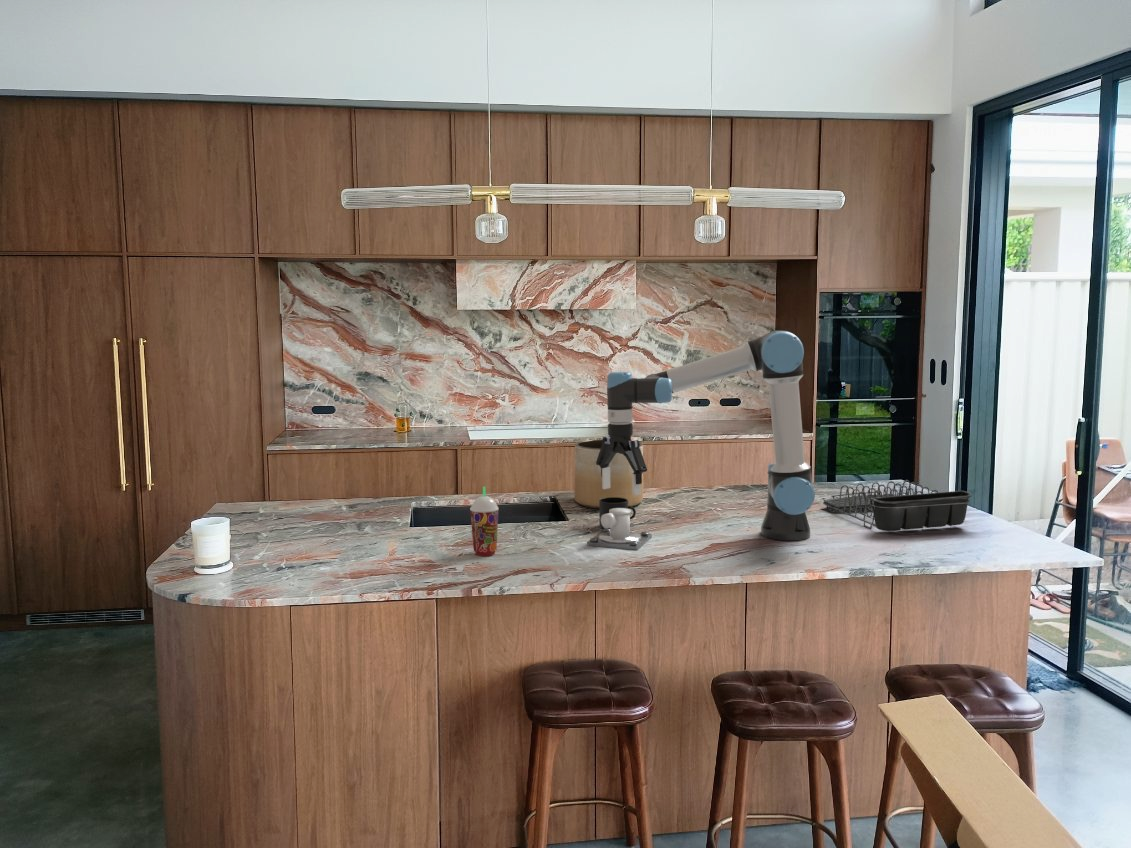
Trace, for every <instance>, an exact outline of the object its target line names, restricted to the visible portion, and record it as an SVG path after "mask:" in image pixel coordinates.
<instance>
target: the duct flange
mask: <svg viewBox="0 0 1131 848" xmlns="http://www.w3.org/2000/svg"><path fill="white" fill-rule="evenodd" d="M652 536H653V534H652V533H649V531H642V532H634V531H630V537H628V538H622V539H619V538H612V537H610V529H608V528H607V529H606V528H605V529H602V530H601V531H599V533H598V532H597V534H596V535H595V536H593V537H590V539H589V540H587V542H586V546H589V547H591V546H592V547H601V548H602V547H603V548H613V549H623V550H634V551H639V550H640V549H641V548H642V547H643V546H644V545H645V544H646V543H647V542H648V541H650V539H651V538H652Z"/></svg>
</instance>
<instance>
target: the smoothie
mask: <svg viewBox="0 0 1131 848" xmlns="http://www.w3.org/2000/svg"><path fill="white" fill-rule="evenodd" d="M499 508H500V507H499V506H498V505H497V503H496V500H494V498H492V497H491V496H488V495H486V486H483V487H482V495H481V496H478V497H477V498H475V500H474V501H473V502H472V504H471V506H470V508H469V510H470V520H471V521H470V523H471V535H472V545H473V546H472V547H473V548H472V549H473V551H474V552H475V555H476V556H478V557H490V556H493V555H494V554H495V553H496V551H497V550H498V549H497V547H498V528H499V527H498V525H499V510H500V509H499Z"/></svg>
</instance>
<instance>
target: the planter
mask: <svg viewBox="0 0 1131 848" xmlns="http://www.w3.org/2000/svg"><path fill="white" fill-rule="evenodd" d="M602 440H603V438H600V439H599V438H598V439H596V438H595V439H587V440H581V441H578V442H576V443H575V444H574V488H573V489H574V493H573V494H574V501H575V502H577V503H578V504H579V505H581V506H582V507H586V508H591V509H598V510H599V500H600V499H602V498H607V497H619V498H625V499H627V500H628V506H632V507H636V506H637V505H639V504H641V503H642V502H643V499H644V472H643V473H642V484H641V494H639V495H633V483H632V474H633V473H634V471H633V469H632V467H631V466H630V464H629V462H628V460H627V458H626V457H625V456H624V455H623V454H620V453H616V454H615V456H614V457H613V459H612V461H611V462H610V464H609V467H610V488H608V489H602V477H601V467H600V466H599V465H597V464H596V461H597V458H598V455H599V452H600V449H601V446H602ZM610 446H611V444H610ZM639 447H640V450H641V453H642V456H643V457H644V444H643V443H642V442H640V441H639ZM637 470H638V469H637Z"/></svg>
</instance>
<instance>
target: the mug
mask: <svg viewBox="0 0 1131 848" xmlns="http://www.w3.org/2000/svg"><path fill="white" fill-rule="evenodd" d="M613 508H626V509H630V510H631V511H632V516H631V515H630V520H633V519H634V518H635V517H636V513H637V511H636V508H635V506H633V507H632V506H628V500H627V499H625V498H619V497H607V498H602V499H600V500H599V509H598V510H599V513H598V514H599V516H598V517H599V519H598V520H599V523H598V524H599V525H598V526H599V528H600V529H602V530H603V529H605V528H604V527H603V526H602V524H601V516H602V515H603V514H607V513H609V510H610V509H613ZM608 529H610V528H608Z"/></svg>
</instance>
